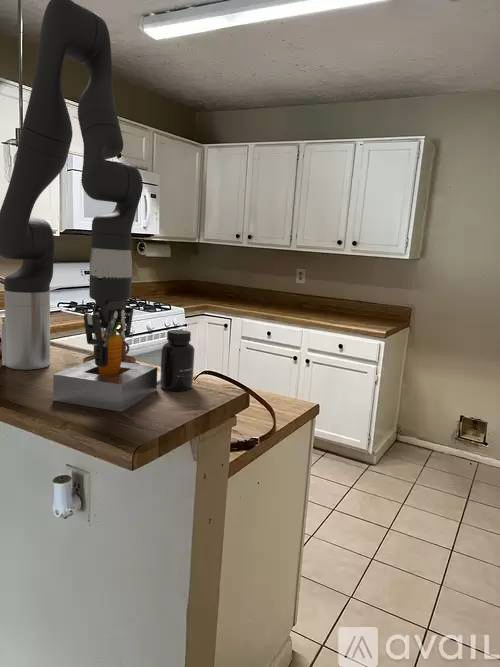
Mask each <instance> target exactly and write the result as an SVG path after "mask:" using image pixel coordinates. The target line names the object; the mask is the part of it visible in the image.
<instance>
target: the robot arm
mask: <svg viewBox="0 0 500 667" xmlns="http://www.w3.org/2000/svg"><path fill="white" fill-rule="evenodd" d="M38 40H39V41H38V49H37V55H36V63H35V69H34V75H33V76H34V77H33V81H32V87H31V90H30V95H29V99H28V105H27V107H26V111H25V114H24V115H25V116H24V119H23V123H22V127H21V132H20V136H19V140H18V145H17V152H16V157H15V160H14V165H13V168H12V173H11V175H10V176H11V177H10V180H9V184H8V187H7V190H6V193H5V196H4V199H3V201H2V205H1V208H0V256H1V257H2V258H4V259H9V260H22V264H21V267H19V268H18V270H16V271H14V272H13V273H11V274H9V275H7V276H5V278H4V280H3V289H4V295H3V296H4V322H3V323H2V324H0V325H1V327H0V328H1V329H0V332H1V361H2V362H1V364H2V366H5V367H7V368H8V369H11V370H12V369H13V370H20V371H21V370H25V371H26V370H29V371H30V370H38V369H44V368H46V367H49V366H50V365H51V318H50V317H51V307H50V305H51V304H50V303H51V301H50V299H51V298H50V297H51V296H50V295H51V294H50V286H51V282H52V279H53V276H54V262H55V261H54V260H55V259H54V258H55V237H54V236H55V235H54V231H53V228H52V226H51V225H50V223H49V222H48V221H47V220H46V219H43V218H40V217H33V216H31V215H32V211H33V209H34V206H35V204H36V202H37V200H38V198H39V197H40V195H41V194H42V193H43V192H44V191H45V190H46V189H47V188H48V187H49V186H50V185H51V183H52V182H53V181H54V180H55V179H56V178H57V177H58V176H59V175H60V173H61V172H62V170H63V169H64V168H65V165H66V163H67V161H68V160H67V159H68V155H69V152H70V149H71V148H70V147H71V144H72V140H73V136H74V135H73V125H72V121H71V117H70V116H71V115H70V113H69V110H68V106H67V103H66V99H65V95H64V91H63V85H62V76H63V66H64V60H65V57H67V58H69V59H71V60H73V61H75V62H78V63H80V64H83V65H84V67H85V69H86V72H87V75H88V83H87V84H86V86H85V89H84V91H83V92H82V94H81V95H80V98H79V100H78V104H77V118H78V124H79V129H80V133H81V138H82V141H83V160H82V170H81V179H80V180H81V187H82V189H83V191H84V192H85V194H86V195H87V196H88V197H89V198H90V199H92V200H95V201H100V202H109V203H110V202H111V203H116V204H115V208H114V209H113V211H112V212H111V213H108V214H100V215H96V216H94V218H92V221H91V245H90V246H91V250H90V251H91V252H90V257H89V294H88V295H89V297H90V299H92V300H94V302H95V304H94V307H93V311H92V312H90V313H89V312H85V313H84V315H83V322H84V331H85V335H86V337H85V338H86V342H87V343H86V344H88V345H91V346H93V347H94V346H95V364H96V366H101V367H105V366H107V365H108V347H107V345H108V341H109V336H110V335H112V333H113V329H114V327H115V326H116V324H117V323H118V322H122V323H123V324H122V325H120V326H119V327H118V328H117V329H116V331H115V333H114V334H118V335H120V336H121V338H122V358H123V341H125V342H126V337H129V336H130V335H131V331H132V330H131V328H132V322H133V316H134V307H133V306H128V305H127V306H126V302H127V301H129V300H131V298H132V279H133V278H132V277H133V276H132V275H133V259H132V229H133V225H134V221H135V217H136V213H137V210H138V206H139V204H140V201H141V197H142V193H143V190H144V189H143V188H144V182H143V177H142V173H141V172H140V170H139V169H138V168H137V167H136V166H135V165H133V164H131V163H125V162H124V163H123V162H121V161H120V162H118V161H113V160H110V159H113V158H115V157H118V156H120V154H121V153H122V152H123V149H124V138H123V135H122V131H121V130H122V129H121V126H120V121H119V117H118V112H117V108H116V103H115V96H114V81H113V78H114V77H113V76H114V75H113V62H112V47H111V46H112V45H111V37H110V32H109V27H108V25H107V23H106V21H105V19H103V17H101V16H100V15H99V14H97V13H95V12H94V11H92V10H91V9H89V8H87V7H85V6H83V5H82V4H80V3H78V2H76V1H74V0H49V1H48V4H47V5H46V8H45V10H44V14H43V17H42V21H41V27H40V32H39V39H38ZM106 328H107V329H106ZM105 329H106V330H105ZM102 334H104V337H103V340H102ZM122 358H121V360H122Z"/></svg>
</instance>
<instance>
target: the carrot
mask: <svg viewBox="0 0 500 667" xmlns="http://www.w3.org/2000/svg"><path fill="white" fill-rule="evenodd" d="M122 324H123V323H122V322H118V323H117V324H116V326H115V327H114V329H113V333H112V335H110V336H109V341H108V345H107V347H108V365H107V366H105V367H101V366H98V368H99V374H100V375H106V376H112V377H115V376H117V375H118V374H119V370H120V365H121V358H122V338H121V336H120V335H118V334H114V333H115V331H116V329H117V328H118V327H119V326H120V325H122ZM106 329H107V328H106ZM106 329H105V328H104V330H106ZM103 337H104V334H102V340H103Z"/></svg>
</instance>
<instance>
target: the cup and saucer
mask: <svg viewBox="0 0 500 667" xmlns="http://www.w3.org/2000/svg"><path fill="white" fill-rule="evenodd" d="M129 352H130V344H129V343H127V341H126V340H125V341H123V358H122V360H121V362H126V363H133V364H136V361H137V359H136V357H133V356H131V355H127V354H128V353H129ZM93 359H95V346H94V345H93V354H92V355H87V356H85V357H84V358H83V359H82V362H83V363H85V362H88V361H91V360H93Z"/></svg>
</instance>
